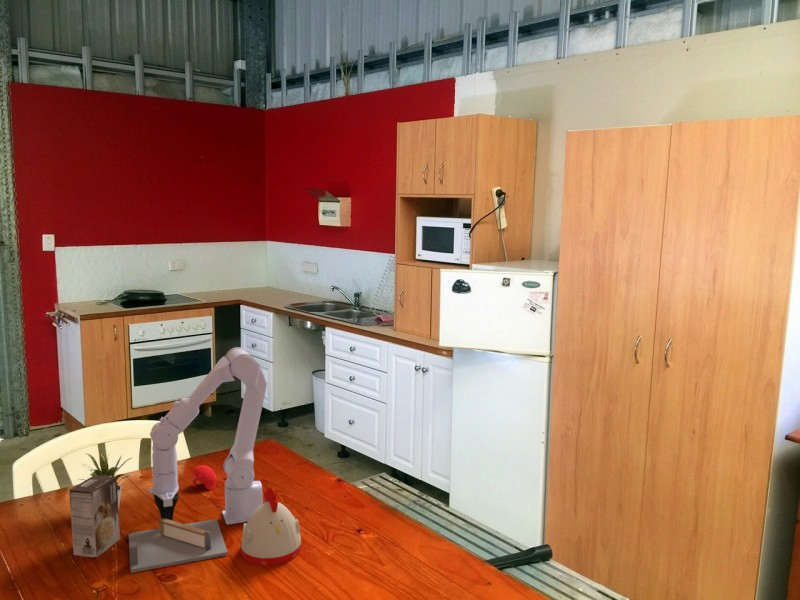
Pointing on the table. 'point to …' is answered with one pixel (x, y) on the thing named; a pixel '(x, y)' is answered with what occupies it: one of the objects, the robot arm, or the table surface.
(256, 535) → the kitchen timer
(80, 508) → the coffee box
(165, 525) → the tan wooden bar
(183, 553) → the frame
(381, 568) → the table surface
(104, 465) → the house plant
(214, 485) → the cap
